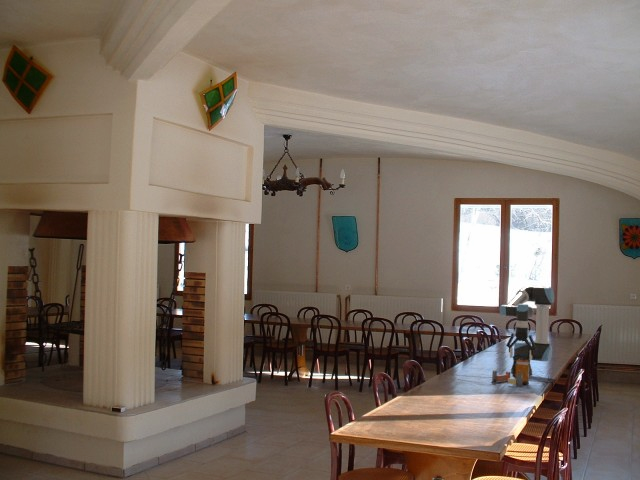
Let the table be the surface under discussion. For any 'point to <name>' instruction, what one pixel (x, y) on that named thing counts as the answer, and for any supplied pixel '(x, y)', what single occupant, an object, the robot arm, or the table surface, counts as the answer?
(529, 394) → the table surface
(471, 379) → the table surface
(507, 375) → the pink l-shaped bracket
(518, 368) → the canister
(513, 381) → the grey hammer
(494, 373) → the post
